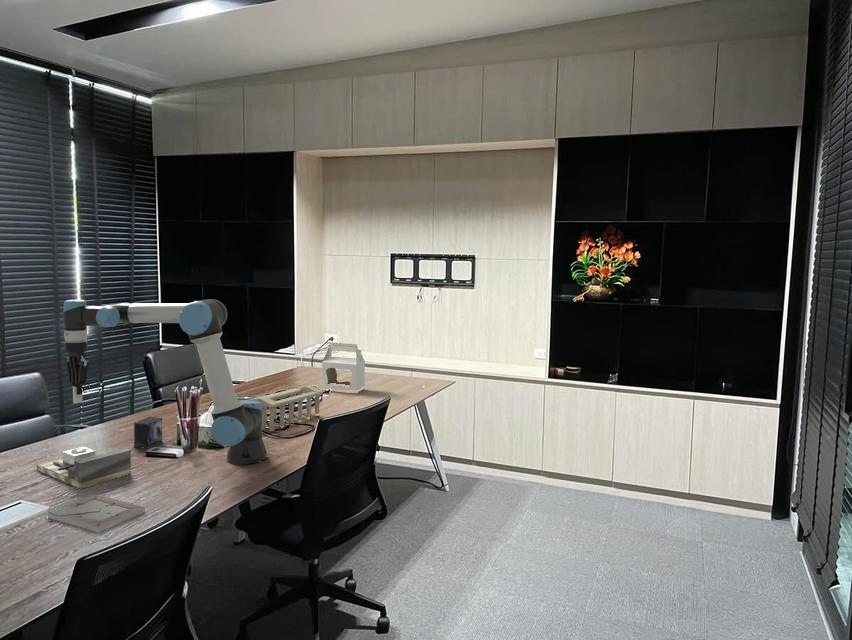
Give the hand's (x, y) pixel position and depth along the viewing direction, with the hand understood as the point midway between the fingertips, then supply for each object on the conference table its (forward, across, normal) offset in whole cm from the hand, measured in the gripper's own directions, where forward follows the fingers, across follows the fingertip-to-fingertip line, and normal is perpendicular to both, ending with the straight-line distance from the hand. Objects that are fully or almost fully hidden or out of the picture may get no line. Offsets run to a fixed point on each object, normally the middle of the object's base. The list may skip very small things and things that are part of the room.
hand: (77, 402), depth 239 cm
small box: (+23, +3, +27) cm, 35 cm away
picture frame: (+23, +53, -23) cm, 62 cm away
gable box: (+23, -2, +156) cm, 158 cm away
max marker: (+20, +22, -14) cm, 33 cm away
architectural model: (+23, +21, +88) cm, 93 cm away
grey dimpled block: (+20, +11, -9) cm, 25 cm away
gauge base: (+22, +14, -6) cm, 27 cm away
